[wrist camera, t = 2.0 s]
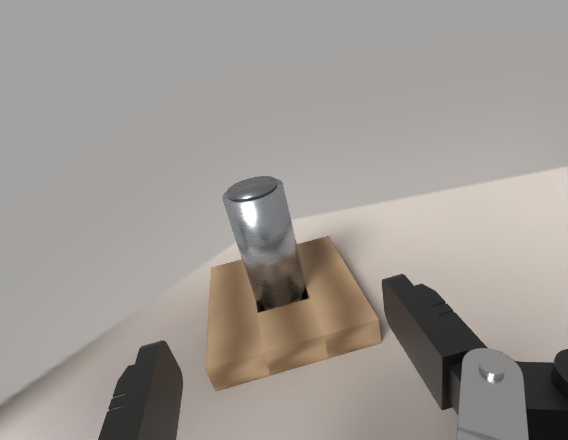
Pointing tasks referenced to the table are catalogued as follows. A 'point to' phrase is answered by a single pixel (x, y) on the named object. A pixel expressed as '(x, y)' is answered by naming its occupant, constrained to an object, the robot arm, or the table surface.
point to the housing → (285, 320)
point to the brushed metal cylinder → (266, 240)
